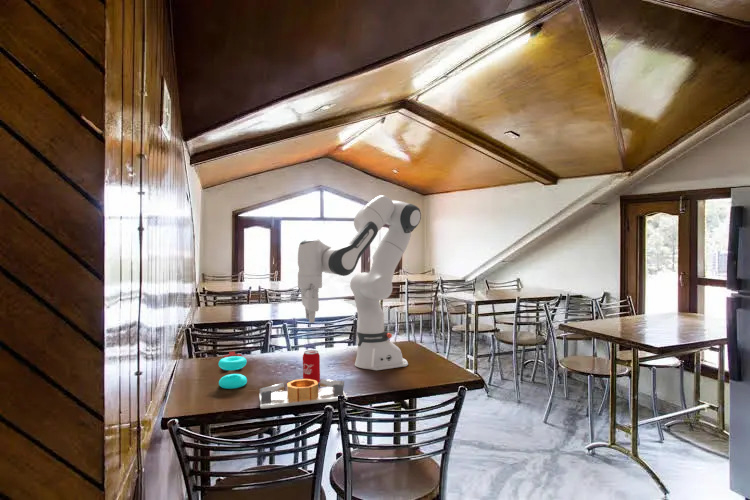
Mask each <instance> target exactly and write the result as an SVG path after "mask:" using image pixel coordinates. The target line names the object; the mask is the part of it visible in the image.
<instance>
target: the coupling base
mask: <svg viewBox="0 0 750 500" xmlns="http://www.w3.org/2000/svg"><path fill="white" fill-rule="evenodd" d="M344 388H345V380H337V379H336V380H334V379H324V378H320V383H318V382H317V381H316V380H311V379H303V378H300V379H294V380H291V381H288V382H287V383H286V388H285V383H284V382H280V383H277V384H273V385H270V386H266V387H265V386H264V387H262V388H259V395H258V396H259V406H260V407H259V408H260V409H261V410H263V409H271V408H281V407H292V406H302V405H303V406H304V405H311V404H319V403H329V402H339V401H338V395H344V396H345V399H346V400H345V401H348V395H347V394H346V393H345V391H344Z"/></svg>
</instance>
